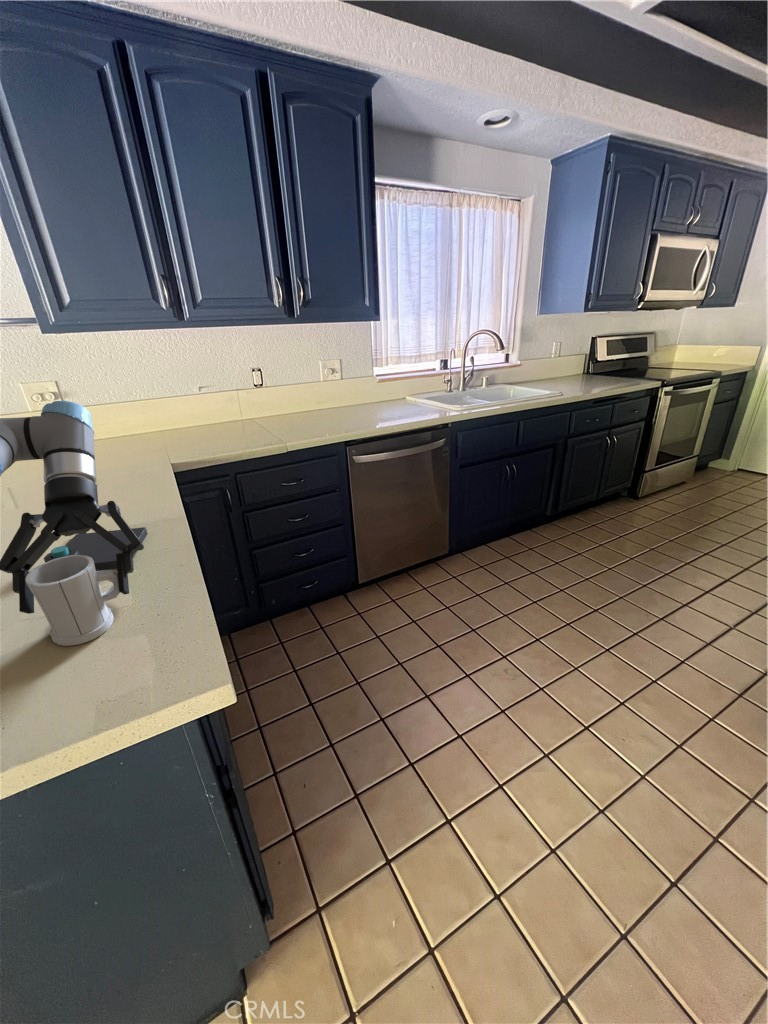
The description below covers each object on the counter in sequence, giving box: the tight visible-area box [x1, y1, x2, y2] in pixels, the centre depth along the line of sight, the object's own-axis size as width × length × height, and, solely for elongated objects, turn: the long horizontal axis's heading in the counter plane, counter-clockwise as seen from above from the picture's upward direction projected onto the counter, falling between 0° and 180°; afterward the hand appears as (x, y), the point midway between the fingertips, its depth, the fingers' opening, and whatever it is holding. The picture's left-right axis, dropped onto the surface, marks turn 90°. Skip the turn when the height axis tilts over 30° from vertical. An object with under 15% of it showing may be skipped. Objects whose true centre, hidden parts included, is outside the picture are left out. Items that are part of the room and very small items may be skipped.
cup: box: [25, 555, 121, 647], centre depth 70 cm, size 10×9×12 cm
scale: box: [43, 526, 149, 571], centre depth 93 cm, size 15×15×4 cm
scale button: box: [50, 545, 69, 559], centre depth 87 cm, size 3×3×2 cm
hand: (77, 602), depth 69 cm, fingers open, 13 cm apart
